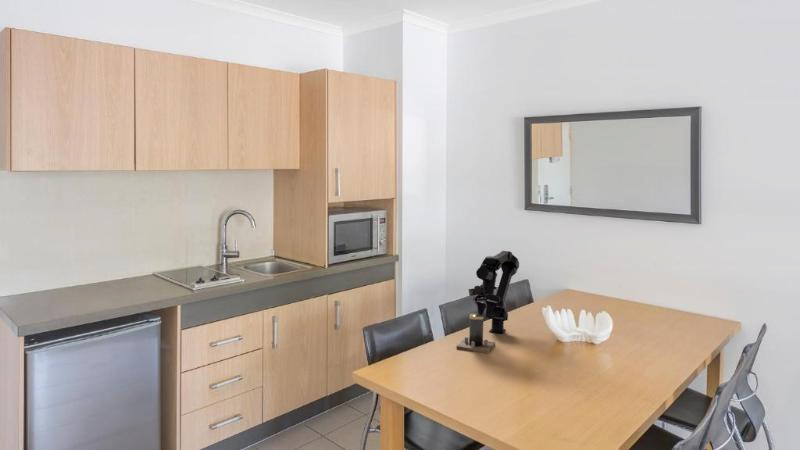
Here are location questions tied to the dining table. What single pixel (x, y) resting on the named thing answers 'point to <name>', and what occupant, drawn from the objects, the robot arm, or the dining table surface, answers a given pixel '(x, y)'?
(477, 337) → the tea tin
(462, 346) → the peg board
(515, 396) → the dining table surface
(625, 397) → the dining table surface
